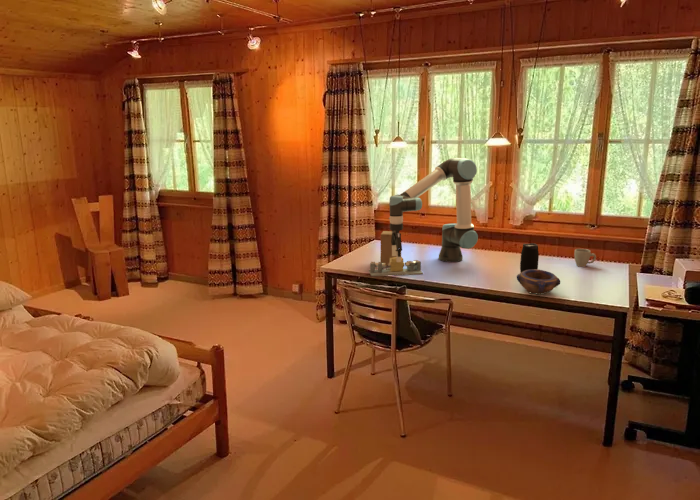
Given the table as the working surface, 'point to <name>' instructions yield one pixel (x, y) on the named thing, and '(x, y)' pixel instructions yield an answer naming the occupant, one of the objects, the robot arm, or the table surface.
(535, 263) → the portable speaker
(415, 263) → the grey metal block
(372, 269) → the grey bracket
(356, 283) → the table surface
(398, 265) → the coupling
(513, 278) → the table surface
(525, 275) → the bowl
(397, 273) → the rig
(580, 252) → the mug
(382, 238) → the wooden block
